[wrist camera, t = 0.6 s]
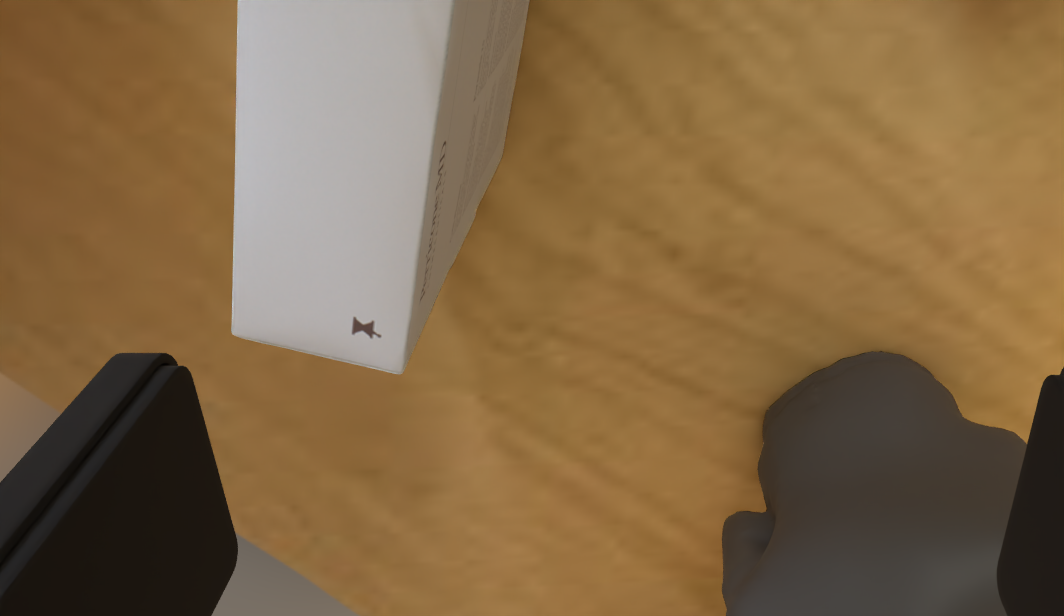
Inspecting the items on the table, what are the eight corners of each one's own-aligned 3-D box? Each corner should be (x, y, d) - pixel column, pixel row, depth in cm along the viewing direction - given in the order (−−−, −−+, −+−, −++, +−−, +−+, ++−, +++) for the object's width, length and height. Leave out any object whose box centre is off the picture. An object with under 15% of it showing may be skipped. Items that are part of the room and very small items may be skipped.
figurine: (751, 519, 47) (813, 962, 30) (683, 401, 44) (709, 819, 27) (1010, 435, 43) (1253, 889, 26) (956, 298, 40) (1192, 711, 23)
